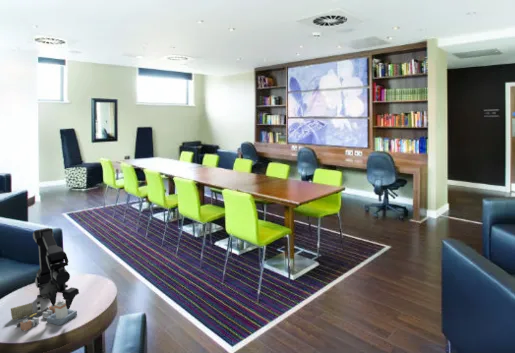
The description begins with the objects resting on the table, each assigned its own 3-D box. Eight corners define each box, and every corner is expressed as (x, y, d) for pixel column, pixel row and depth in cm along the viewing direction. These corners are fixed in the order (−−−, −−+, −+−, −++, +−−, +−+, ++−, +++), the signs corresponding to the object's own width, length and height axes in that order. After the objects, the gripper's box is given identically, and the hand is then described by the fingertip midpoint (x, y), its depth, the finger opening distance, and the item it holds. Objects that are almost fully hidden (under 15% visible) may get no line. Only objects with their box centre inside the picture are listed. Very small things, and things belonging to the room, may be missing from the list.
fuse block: (16, 326, 169) (16, 321, 169) (47, 309, 184) (46, 305, 184) (27, 329, 167) (27, 324, 167) (57, 312, 182) (57, 307, 181)
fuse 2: (49, 313, 181) (48, 305, 180) (54, 310, 184) (54, 302, 183) (54, 314, 180) (53, 306, 179) (59, 311, 183) (58, 303, 182)
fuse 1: (21, 329, 167) (20, 321, 166) (27, 326, 170) (26, 318, 169) (25, 330, 166) (24, 322, 165) (31, 327, 169) (30, 319, 168)
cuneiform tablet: (41, 315, 180) (12, 323, 173) (40, 313, 184) (11, 320, 176) (39, 300, 180) (10, 308, 173) (38, 299, 184) (10, 306, 177)
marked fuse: (55, 318, 175) (54, 302, 174) (62, 314, 178) (60, 299, 177) (61, 320, 174) (60, 304, 172) (68, 316, 177) (66, 300, 176)
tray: (46, 322, 173) (46, 317, 173) (63, 312, 182) (63, 307, 182) (60, 325, 170) (60, 321, 170) (77, 315, 179) (76, 310, 179)
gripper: (27, 280, 168) (31, 312, 171) (58, 286, 162) (61, 319, 164) (49, 271, 179) (52, 301, 181) (78, 276, 172) (81, 307, 175)
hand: (61, 307), depth 175 cm, fingers open, 9 cm apart
